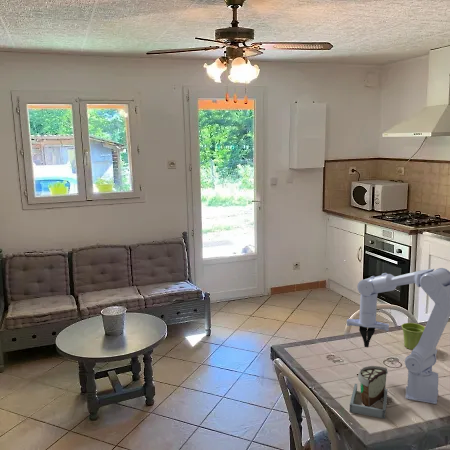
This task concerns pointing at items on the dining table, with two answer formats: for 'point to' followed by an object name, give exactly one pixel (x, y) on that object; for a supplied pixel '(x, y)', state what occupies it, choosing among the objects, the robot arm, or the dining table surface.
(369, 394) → the food container
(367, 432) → the dining table surface
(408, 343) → the plant pot
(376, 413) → the bay
